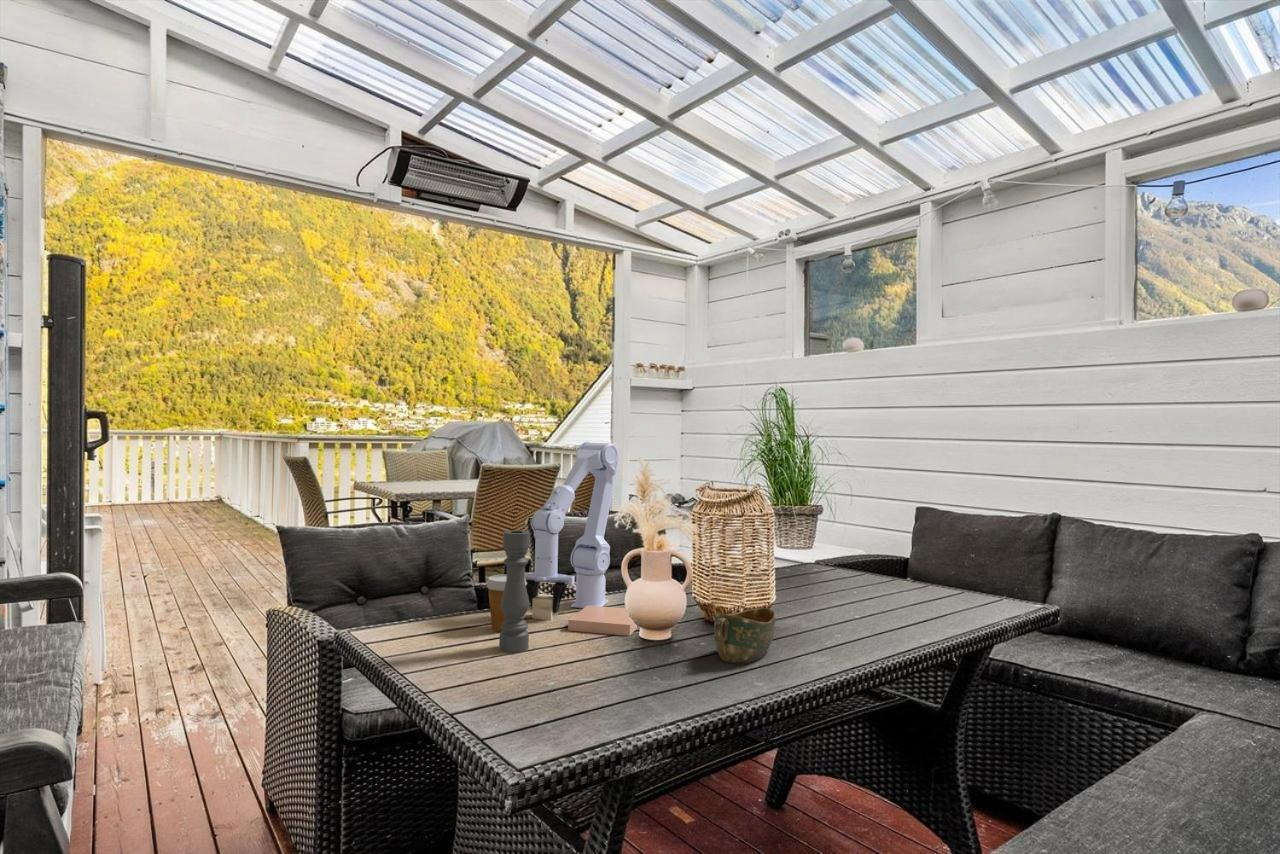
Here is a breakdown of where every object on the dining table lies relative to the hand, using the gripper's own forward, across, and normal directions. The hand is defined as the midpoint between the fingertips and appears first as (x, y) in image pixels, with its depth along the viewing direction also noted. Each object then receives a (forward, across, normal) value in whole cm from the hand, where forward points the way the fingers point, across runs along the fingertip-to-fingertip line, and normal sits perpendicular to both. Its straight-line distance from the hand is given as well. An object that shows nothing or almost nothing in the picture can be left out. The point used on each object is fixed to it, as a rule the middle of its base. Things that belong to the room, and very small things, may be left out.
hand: (545, 611), depth 184 cm
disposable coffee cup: (+2, -5, -13) cm, 14 cm away
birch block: (+1, 0, 0) cm, 1 cm away
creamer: (+2, +51, -17) cm, 54 cm away
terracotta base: (+1, +17, -2) cm, 17 cm away
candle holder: (+2, +3, -27) cm, 27 cm away
